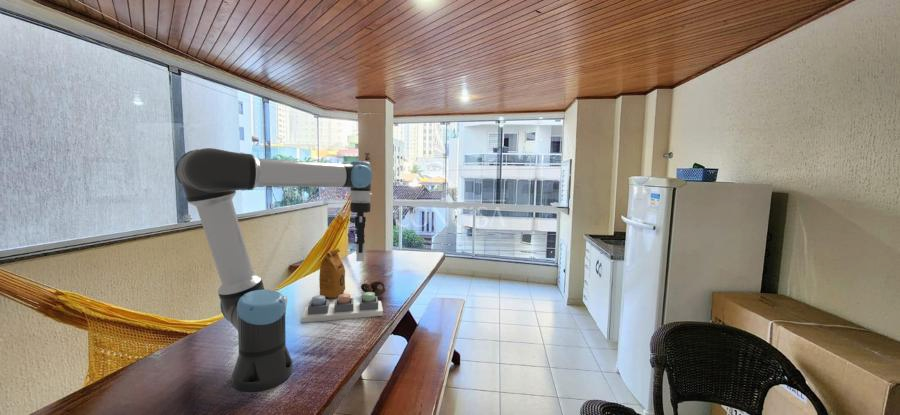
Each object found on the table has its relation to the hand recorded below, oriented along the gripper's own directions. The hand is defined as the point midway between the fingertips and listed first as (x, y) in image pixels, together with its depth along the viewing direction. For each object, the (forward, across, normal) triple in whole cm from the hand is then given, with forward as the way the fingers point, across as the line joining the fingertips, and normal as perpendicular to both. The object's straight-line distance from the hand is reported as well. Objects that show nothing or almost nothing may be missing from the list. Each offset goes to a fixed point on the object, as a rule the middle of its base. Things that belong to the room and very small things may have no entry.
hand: (359, 257), depth 132 cm
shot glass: (+26, +14, +32) cm, 44 cm away
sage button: (+21, +10, -4) cm, 24 cm away
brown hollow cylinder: (+26, +29, -7) cm, 40 cm away
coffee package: (+26, +34, +11) cm, 45 cm away
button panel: (+26, +10, +6) cm, 29 cm away
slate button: (+22, +10, +16) cm, 29 cm away
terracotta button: (+21, +10, +6) cm, 24 cm away
